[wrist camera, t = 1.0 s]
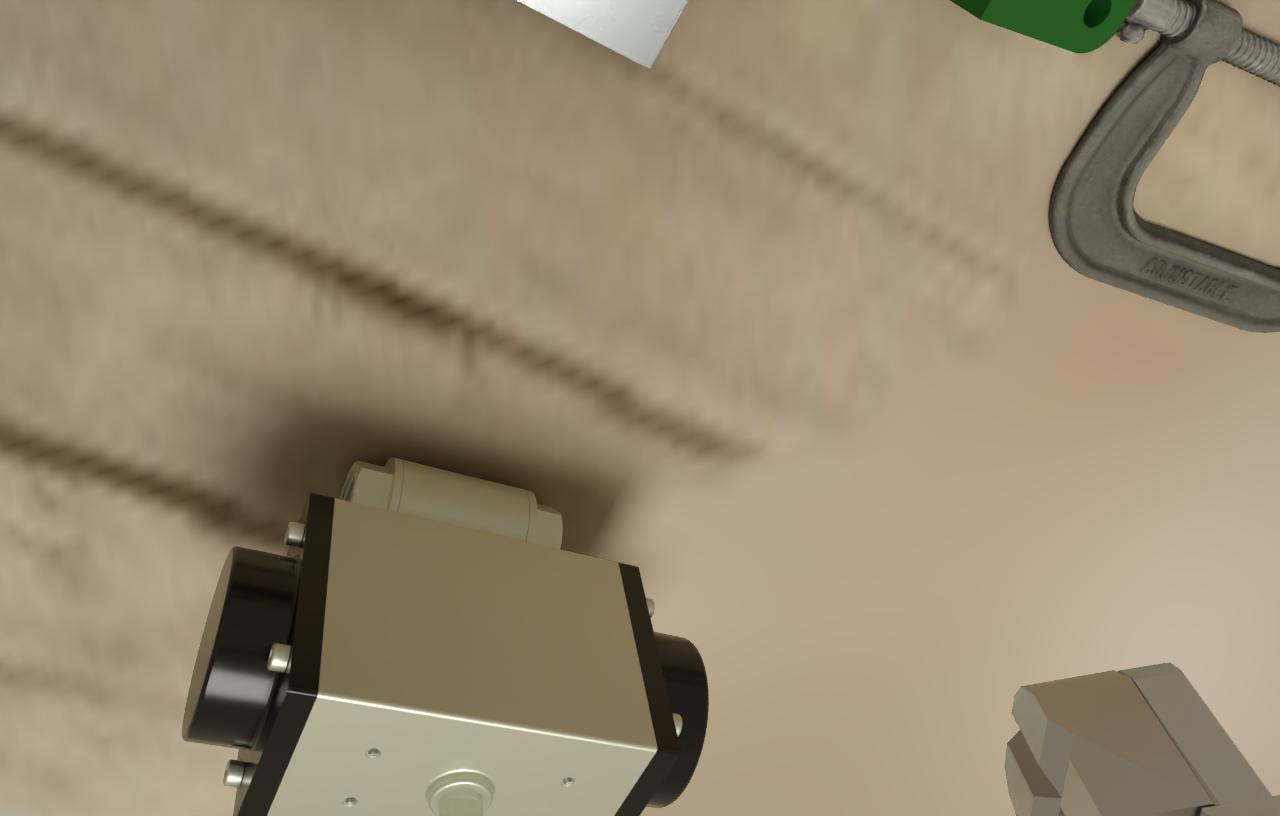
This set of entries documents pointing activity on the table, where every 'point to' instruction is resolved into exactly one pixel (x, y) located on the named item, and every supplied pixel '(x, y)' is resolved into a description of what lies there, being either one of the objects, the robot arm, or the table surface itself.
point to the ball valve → (441, 663)
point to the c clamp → (1124, 147)
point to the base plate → (618, 23)
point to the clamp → (1055, 19)
